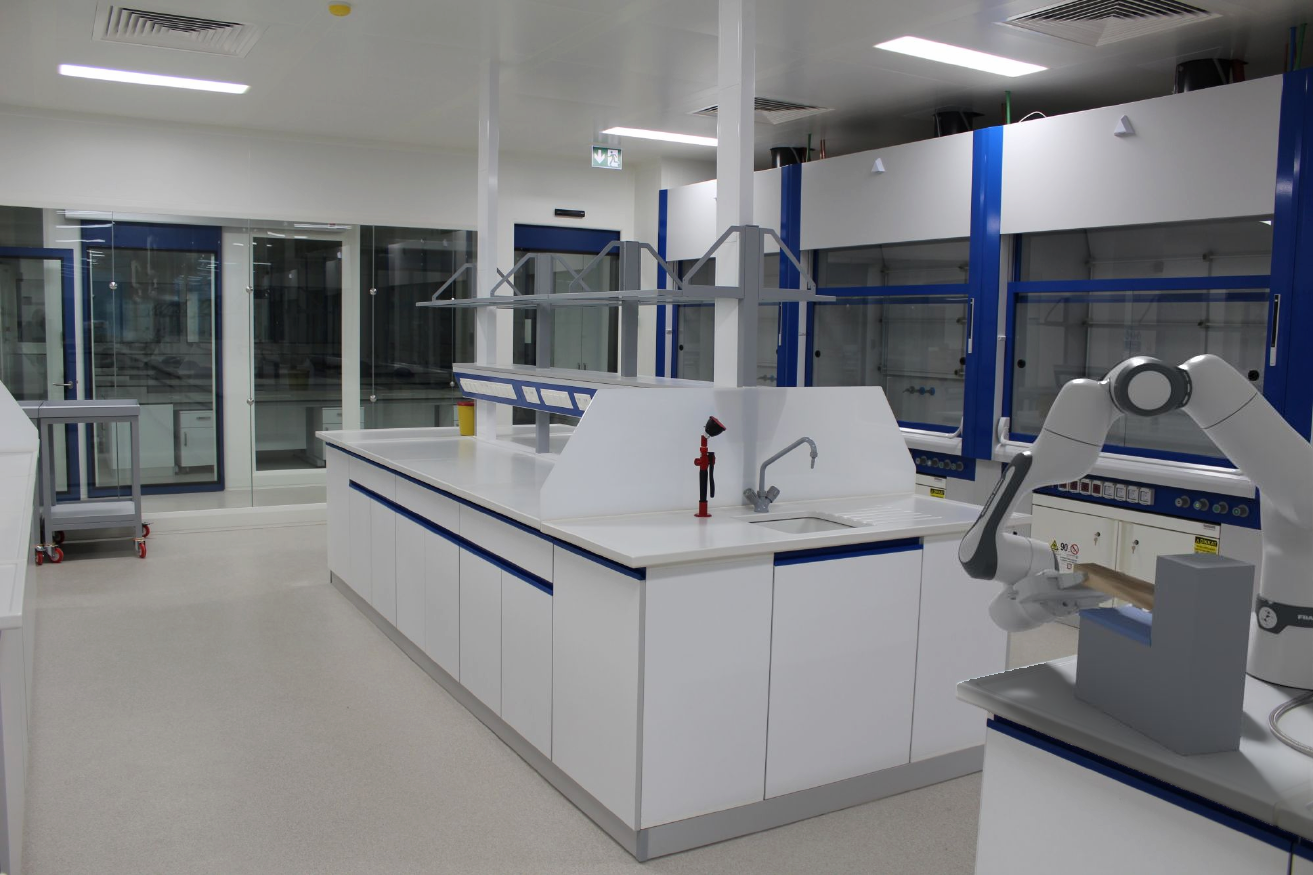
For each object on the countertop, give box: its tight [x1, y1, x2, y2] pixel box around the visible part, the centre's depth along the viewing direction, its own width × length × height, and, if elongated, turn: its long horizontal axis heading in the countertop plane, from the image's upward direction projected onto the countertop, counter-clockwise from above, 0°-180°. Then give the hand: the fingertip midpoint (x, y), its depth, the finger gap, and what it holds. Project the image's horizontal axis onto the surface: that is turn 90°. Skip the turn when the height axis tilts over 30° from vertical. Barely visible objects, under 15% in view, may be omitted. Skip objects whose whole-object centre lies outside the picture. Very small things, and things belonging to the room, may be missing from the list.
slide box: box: [1072, 562, 1155, 612], centre depth 162 cm, size 4×20×3 cm, turn 15°
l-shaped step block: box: [1074, 552, 1256, 757], centre depth 155 cm, size 10×24×28 cm, turn 15°
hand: (1098, 574), depth 168 cm, fingers closed on slide box, 4 cm apart
